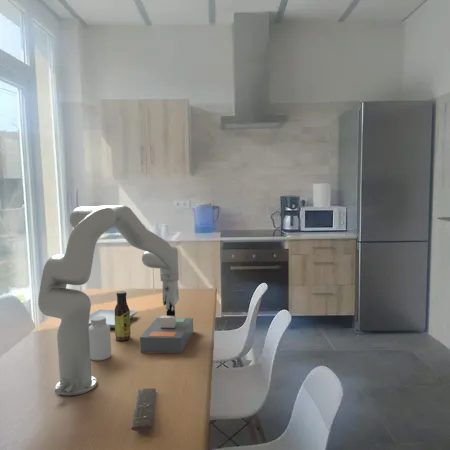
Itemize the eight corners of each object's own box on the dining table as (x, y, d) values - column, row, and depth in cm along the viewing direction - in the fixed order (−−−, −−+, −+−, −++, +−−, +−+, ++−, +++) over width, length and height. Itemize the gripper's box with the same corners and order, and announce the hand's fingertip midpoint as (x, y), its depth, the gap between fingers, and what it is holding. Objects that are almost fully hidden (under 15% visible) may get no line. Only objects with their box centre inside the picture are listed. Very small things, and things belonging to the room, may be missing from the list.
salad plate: (75, 329, 195) (74, 321, 195) (99, 315, 216) (99, 308, 215) (117, 332, 190) (117, 324, 190) (138, 317, 211) (138, 310, 210)
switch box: (181, 353, 163) (180, 337, 163) (140, 352, 165) (139, 336, 165) (193, 331, 187) (192, 317, 186) (157, 331, 189) (157, 317, 188)
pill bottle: (89, 362, 157) (86, 322, 156) (89, 354, 165) (87, 316, 163) (111, 359, 159) (109, 320, 158) (111, 351, 167) (109, 313, 165)
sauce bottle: (126, 342, 177) (124, 294, 175) (112, 341, 178) (110, 294, 176) (133, 336, 183) (131, 290, 181) (119, 335, 184) (117, 290, 182)
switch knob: (174, 327, 174) (174, 318, 173) (160, 327, 174) (159, 317, 174) (176, 325, 177) (175, 315, 176) (161, 325, 177) (161, 315, 177)
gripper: (174, 280, 171) (175, 325, 173) (182, 273, 186) (183, 314, 188) (155, 280, 172) (157, 325, 174) (165, 273, 187) (166, 314, 188)
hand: (171, 319), depth 181 cm, fingers closed
